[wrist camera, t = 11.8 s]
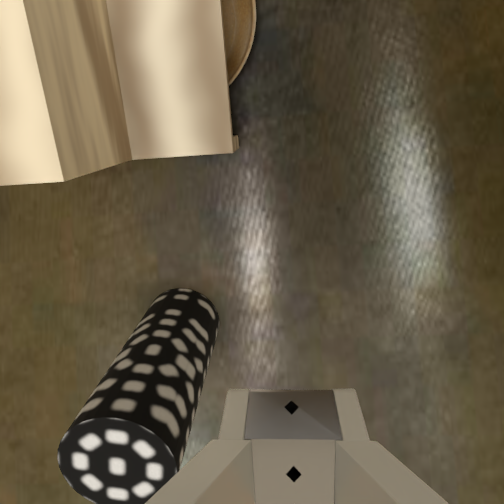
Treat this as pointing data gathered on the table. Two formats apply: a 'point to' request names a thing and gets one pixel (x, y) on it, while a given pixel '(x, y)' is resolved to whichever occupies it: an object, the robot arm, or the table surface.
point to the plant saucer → (238, 33)
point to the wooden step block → (109, 85)
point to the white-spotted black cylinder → (143, 404)
